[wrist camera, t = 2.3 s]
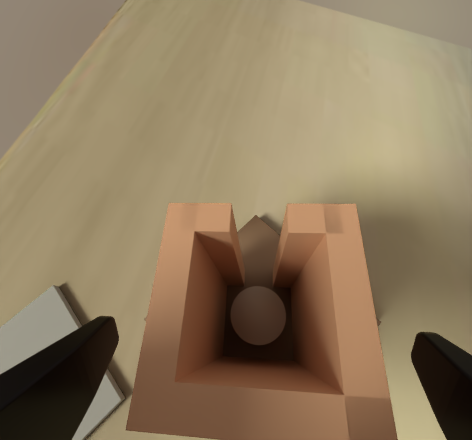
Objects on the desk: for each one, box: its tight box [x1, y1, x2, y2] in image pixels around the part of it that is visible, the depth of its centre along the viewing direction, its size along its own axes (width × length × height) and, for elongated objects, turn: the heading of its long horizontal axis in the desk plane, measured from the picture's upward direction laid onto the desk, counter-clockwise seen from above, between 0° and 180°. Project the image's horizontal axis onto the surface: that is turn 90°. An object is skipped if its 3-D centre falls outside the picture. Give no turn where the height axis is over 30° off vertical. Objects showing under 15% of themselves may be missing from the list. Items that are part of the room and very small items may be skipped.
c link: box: [126, 203, 398, 440], centre depth 11 cm, size 6×6×9 cm
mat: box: [0, 285, 125, 440], centre depth 15 cm, size 9×9×1 cm
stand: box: [145, 215, 381, 361], centre depth 13 cm, size 10×10×5 cm
